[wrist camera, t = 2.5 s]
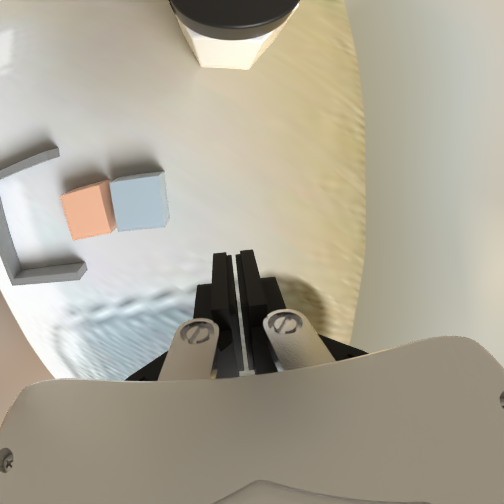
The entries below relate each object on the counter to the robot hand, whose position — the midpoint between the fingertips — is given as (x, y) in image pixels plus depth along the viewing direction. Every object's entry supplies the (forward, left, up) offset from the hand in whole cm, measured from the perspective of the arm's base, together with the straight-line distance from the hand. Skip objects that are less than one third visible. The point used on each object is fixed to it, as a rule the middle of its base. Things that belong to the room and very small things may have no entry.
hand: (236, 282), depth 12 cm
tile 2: (0, -15, -17) cm, 23 cm away
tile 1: (0, -9, -17) cm, 19 cm away
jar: (-16, +1, -17) cm, 24 cm away
